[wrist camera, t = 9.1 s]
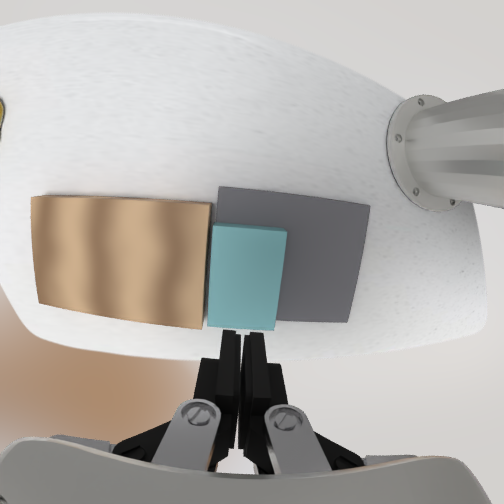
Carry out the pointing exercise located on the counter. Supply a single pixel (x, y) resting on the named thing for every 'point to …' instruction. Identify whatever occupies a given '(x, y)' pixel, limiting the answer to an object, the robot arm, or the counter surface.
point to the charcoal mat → (306, 248)
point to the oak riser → (122, 257)
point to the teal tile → (245, 275)
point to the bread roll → (1, 113)
